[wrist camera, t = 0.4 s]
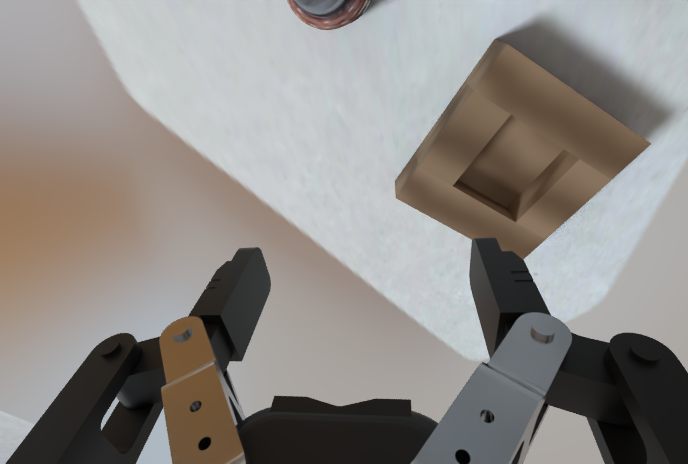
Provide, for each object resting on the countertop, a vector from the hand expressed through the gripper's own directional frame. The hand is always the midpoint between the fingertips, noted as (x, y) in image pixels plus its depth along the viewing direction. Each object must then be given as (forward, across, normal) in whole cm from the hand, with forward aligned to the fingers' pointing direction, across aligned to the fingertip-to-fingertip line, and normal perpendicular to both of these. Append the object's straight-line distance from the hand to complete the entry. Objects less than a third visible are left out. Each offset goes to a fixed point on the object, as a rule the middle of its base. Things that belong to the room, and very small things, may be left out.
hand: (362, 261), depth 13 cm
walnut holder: (+26, -12, +8) cm, 30 cm away
